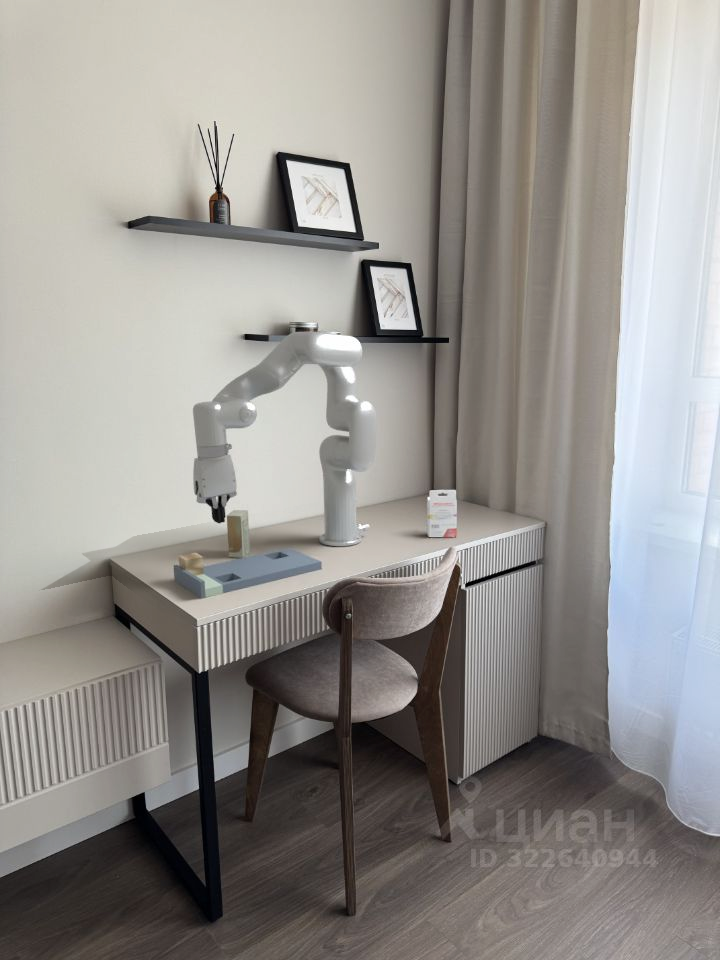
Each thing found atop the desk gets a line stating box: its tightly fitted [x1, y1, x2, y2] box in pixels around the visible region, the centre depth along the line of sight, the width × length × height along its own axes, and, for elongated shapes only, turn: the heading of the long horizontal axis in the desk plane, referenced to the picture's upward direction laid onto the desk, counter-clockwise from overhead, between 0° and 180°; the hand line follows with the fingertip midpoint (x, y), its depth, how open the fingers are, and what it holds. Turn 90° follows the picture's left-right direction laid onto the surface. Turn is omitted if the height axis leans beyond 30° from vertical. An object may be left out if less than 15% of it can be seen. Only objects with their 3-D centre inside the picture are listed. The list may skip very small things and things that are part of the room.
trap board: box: [173, 547, 323, 599], centre depth 183 cm, size 34×16×4 cm, turn 127°
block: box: [178, 552, 204, 576], centre depth 178 cm, size 4×4×4 cm
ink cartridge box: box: [426, 489, 458, 538], centre depth 215 cm, size 9×5×15 cm, turn 91°
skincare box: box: [226, 509, 251, 559], centre depth 199 cm, size 6×4×12 cm
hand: (219, 521), depth 183 cm, fingers closed
